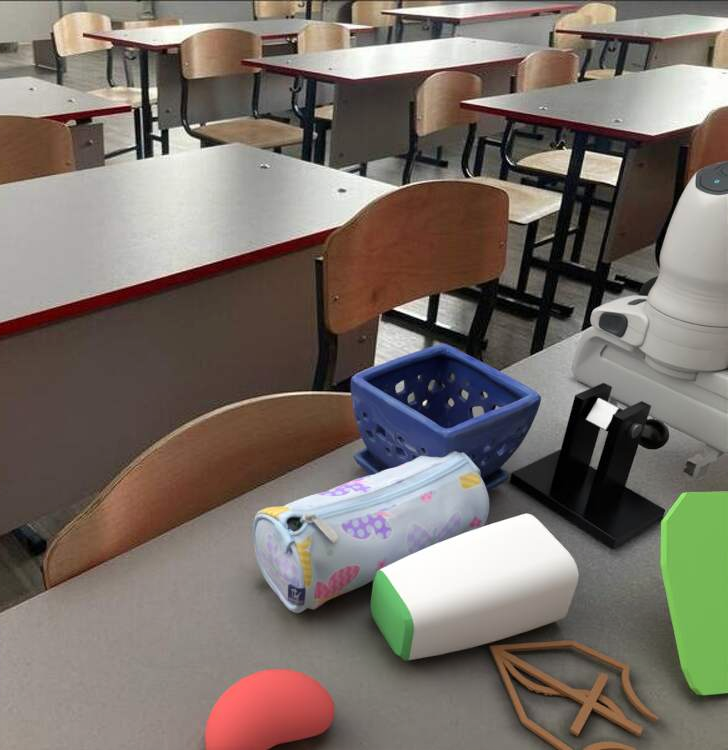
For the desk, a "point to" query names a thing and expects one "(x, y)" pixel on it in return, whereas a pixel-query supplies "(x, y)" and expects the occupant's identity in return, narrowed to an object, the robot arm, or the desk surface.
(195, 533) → the desk surface
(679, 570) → the green stand with toy
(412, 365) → the flower pot
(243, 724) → the stress ball
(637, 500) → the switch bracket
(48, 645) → the desk surface
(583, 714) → the emblem
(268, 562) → the pencil case
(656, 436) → the switch lever
